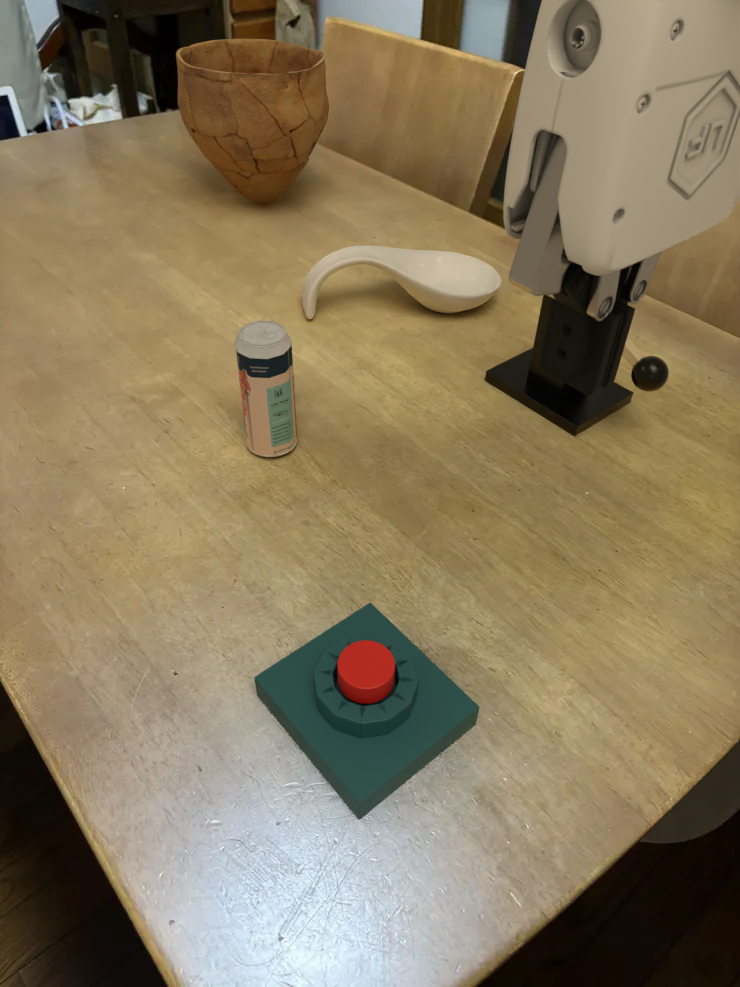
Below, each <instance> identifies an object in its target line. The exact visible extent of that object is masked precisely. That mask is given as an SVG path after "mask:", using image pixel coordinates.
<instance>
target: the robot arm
mask: <svg viewBox="0 0 740 987" xmlns="http://www.w3.org/2000/svg"><path fill="white" fill-rule="evenodd" d="M514 117H515V118H514V121H513V122H514V123H513V126H512V133H511V140H510V147H509V153H508V158H507V165H506V172H505V173H506V174H505V181H504V192H503V203H502V204H503V206H502V208H503V209H502V214H503V215H502V216H503V218H502V220H503V226H504V230H505V232H506V235H508V236H509V237H510V238H513V239H515V240H519V241H518V245H517V248H516V251H515V254H514V257H513V261H512V264H511V267H510V271H509V274H508V281H509V283H510V284H511V285H512V286H515V287H517V288H519V289H520V290H522V291H524V292H527V293H529V294H531V295H532V296H535V297H540V296H542V297H543V295H548V296H549V297H551V298H552V302H551V306H550V311H549V316H548V321H547V326H546V331H545V336H544V341H543V345H542V350H541V355H540V360H539V364H540V367H541V368H542V370H544V371H545V372H547V373H549V374H550V375H552V376H554V377H556V378H557V379H559V380H561V381H563V382H564V383H566V384H568V385H569V386H571V387H573V388H575V389H576V390H578V391H580V392H582V393H583V394H585V395H592V394H593V393H595V392H597V391H598V390H599V389H600V388H601V387H605V386H607V385H609V384H611V383H612V382H615V380H616V377H617V374H618V370H619V367H620V364H621V360H622V357H623V356H622V353H623V350H624V346H625V343H626V340H627V336H628V337H629V332H630V330H631V326H632V322H633V319H634V315H635V312H636V308H635V307H633V306H631V305H636V304H638V303H639V302H640V301H642V299H643V298H644V297H645V295H646V294H647V290H648V288H649V287H650V283H651V281H652V278H653V275H654V273H655V270H656V268H657V265H658V262H659V260H660V257H661V255H662V252H663V251H665V250H668V249H669V248H673V247H674V246H677V245H678V244H680V243H683V242H685V241H687V240H689V239H691V238H693V237H695V236H697V235H700V234H702V233H704V232H705V231H708V230H710V229H711V228H713V227H716V226H717V225H719V224H720V223H722V222H723V221H725V219H727V218H728V217H729V216H730V215H731V214H732V212H733V211H734V210H735V208H736V207H737V205H738V203H739V201H740V0H541V2H540V6H539V9H538V12H537V16H536V21H535V25H534V29H533V34H532V37H531V42H530V46H529V50H528V55H527V59H526V64H525V68H524V72H523V76H522V82H521V86H520V92H519V97H518V102H517V107H516V113H515V116H514ZM629 303H630V304H631V305H630V304H629Z"/></svg>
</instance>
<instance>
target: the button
mask: <svg viewBox="0 0 740 987" xmlns="http://www.w3.org/2000/svg"><path fill="white" fill-rule="evenodd" d="M337 671H338V685H339V688H340V690H341V691H342V693H343V694H344V695H345V696H346V697H347V698H349V699H350V700H352V701H354V702H357V703H362V704H371V703H375V702H378V701H380V700H382V699H384V698H385V697H386V696H387V695H388V694H389V693H390V691H391V690H392V688H393V685H394V676H395V660H394V657H393V655H392V653H391V652H390V651H389V650H388V649H387V648H386V647H385V646H383V645H382V644H380V643H377V642H374V641H368V640H364V641H358V642H355V643H352V644H350V645H349V646H347V647H346V648H345V649H344V650H343V651H342V652H341V654H340V656H339V658H338V664H337Z"/></svg>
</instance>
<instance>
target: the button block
mask: <svg viewBox="0 0 740 987" xmlns="http://www.w3.org/2000/svg"><path fill="white" fill-rule="evenodd" d="M364 640H368V641H374V642H377V643H380V644H382V645H383V646H385V647H386V648H387V649H388V650H389V651H390V652H391V653H392V655H393V657H394V660H395V676H394V685H393V688H392V690H391V691H390V693H389V694H388V695H387V696H386V697H385V698H384V699H382V700H380V701H378V702H375V703H371V704H362V703H357V702H354V701H352V700H350V699H349V698H347V697H346V696H345V695H344V694H343V693H342V691H341V690H340V688H339V685H338V671H337V664H338V658H339V656H340V654H341V652H342V651H343V650H344V649H345V648H346V647H347V646H349V645H350V644H352V643H355V642H358V641H364ZM253 678H254V683H255V690H256V696H257V697H258V699H259V700H260V701H261V702H262V703H263V704H264V705H265V707H266V708H267V709H268V710H269V712H270V713H271V714H272V716H273V717H274V718H275V719H276V720H277V722H278V723H279V724H280V725H281V726H282V728H283V729H284V730H285V732H286V733H287V734H288V735H289V736H290V737H291V738H292V740H293V741H294V742H295V743H296V745H297V746H298V747H299V748H300V750H301V751H302V752H303V753H304V755H305V756H306V757H307V758H308V760H309V761H310V762H311V763H312V764H313V765H314V767H315V768H316V769H317V770H318V772H319V773H320V774H321V775H322V777H323V778H324V779H325V781H326V782H327V783H328V784H329V785H330V786H331V788H332V789H333V790H334V791H335V792H336V794H337V795H338V796H339V798H340V799H341V800H342V801H343V802H344V803H345V805H346V806H347V807H348V808H349V810H350V811H351V812H352V813H353V815H354V816H355V817H356V818H357V819H358V820H361V819H362V818H364V816H366V815H367V814H368V813H369V812H371V811H372V810H373V809H374V808H376V807H377V806H378V805H379V804H380V803H382V802H383V801H384V800H385V799H387V798H388V797H389V796H390V795H392V794H393V793H394V792H395V791H397V790H398V789H399V788H400V787H401V786H403V785H404V784H405V783H406V782H407V781H409V780H410V779H411V778H412V777H413V776H415V775H416V774H417V773H419V771H421V770H423V769H424V768H425V767H426V766H428V764H429V763H431V762H432V761H433V760H434V759H436V758H437V757H438V756H440V754H442V753H443V752H445V750H447V749H448V748H449V747H450V746H451V745H453V744H454V743H455V742H457V741H458V740H459V739H460V738H461V737H463V736H464V735H465V734H466V733H467V732H469V731H470V730H471V729H472V728H473V727H474V726H475V727H476V724H477V720H478V717H479V716H478V715H479V712H480V706H479V704H477V703H476V702H475V701H474V700H473V699H472V698H471V697H470V696H469V695H468V694H467V693H466V692H465V691H464V690H462V689H461V687H459V686H458V684H456V683H455V682H454V681H453V680H452V679H451V678H450V677H449V676H448V675H447V674H446V673H445V672H444V671H443V670H442V669H440V668H439V667H438V665H437V664H436V663H435V662H433V661H432V660H431V659H430V658H429V657H428V656H427V655H426V654H425V653H424V652H423V651H422V650H421V649H420V648H419V647H418V646H417V645H415V643H414V642H412V641H411V640H410V639H409V637H407V636H406V635H405V634H404V633H403V632H402V631H401V630H400V629H399V628H398V627H397V626H396V625H394V624H393V622H391V620H390V619H389V618H387V617H386V616H385V615H384V614H383V613H382V612H381V611H380V610H379V609H378V608H377V607H376V606H375V605H374V604H373V603H372V602H369V603H367V604H365V605H363V606H362V607H360V608H359V609H358V610H356V611H355V612H353V613H352V614H350V615H349V616H346V617H345V618H344V619H342V620H341V621H339V622H338V623H336V624H335V625H333V626H331V627H330V628H328V629H326V630H325V631H323V632H322V633H320V634H319V635H317V636H316V637H314V638H313V639H311V640H310V641H308V642H306V643H305V644H304V645H302V646H300V647H298V648H297V649H296V650H293V651H292V652H291V653H289V654H288V655H286V656H285V657H283V658H281V659H280V660H279V661H277V662H275V663H274V664H273V665H270V666H269V667H267V668H266V669H264V670H263V671H261V672H260V673H258V674H256V675H255V676H254V677H253Z"/></svg>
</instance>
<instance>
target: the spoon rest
mask: <svg viewBox="0 0 740 987" xmlns="http://www.w3.org/2000/svg"><path fill="white" fill-rule="evenodd" d="M358 265H366V266H371V267H373V268H376V269H379V270H380V271H382V272H384V273H386V274H387V275H388V276H390V277H391V279H393V280H394V281H395V282H397V284H399V286H400V287H402V288H403V289H404V290H405V291H406V292H407V293H408V294H409V295H410V296H411V297H412V298H413V299H414V300H416V301H417V302H418V303H420V304H421V305H422V306H423V307H425V308H426V309H428V310H431V311H433V312H436V313H442V314H457V313H460V312H461V313H462V312H464V311H468V310H472V309H475V308H478V307H479V306H481V305H483V304H485V303H486V302H487V301H489V300H490V299H491V298H492V297H494V296H495V295H496V294H497V293H498V291H499V290H500V288H501V287H502V278H501V275H500V273H499V272H498V271H497V269H496V268H494V267H493V266H492V265H491V264H489V263H487V262H486V261H484V260H481V259H479V258H478V257H474V256H472V255H467V254H465V253H464V254H463V253H459V252H454V251H444V250H433V249H431V250H430V249H411V248H400V247H391V246H384V245H382V246H381V245H369V244H366V245H365V244H364V245H361V244H360V245H352V246H347V247H343V248H339V249H337V250H334V251H331V252H330V253H328V254H327V255H325V256H323V257H322V258H320V259H319V260H318V261H317V262H316V263H314V264H313V266H312V267H311V268H310V270H309V271H308V273H307V274H306V276H305V279H304V281H303V284H302V288H301V304H302V307H303V311H304V315H305V317H306V319H307V320H312V319H313V318H314V317H315V316H316V310H317V299H318V295H319V291H320V289H321V287H322V285H323V284H324V283H325V281H326V280H327V279H328V278H329V277H330V276H332V275H333V274H334V273H337V272H338V271H340V270H343V269H345V268H348V267H351V266H358Z"/></svg>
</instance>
